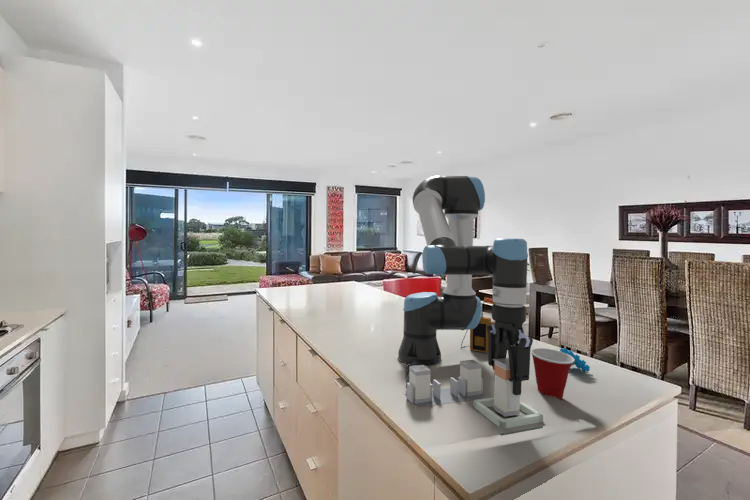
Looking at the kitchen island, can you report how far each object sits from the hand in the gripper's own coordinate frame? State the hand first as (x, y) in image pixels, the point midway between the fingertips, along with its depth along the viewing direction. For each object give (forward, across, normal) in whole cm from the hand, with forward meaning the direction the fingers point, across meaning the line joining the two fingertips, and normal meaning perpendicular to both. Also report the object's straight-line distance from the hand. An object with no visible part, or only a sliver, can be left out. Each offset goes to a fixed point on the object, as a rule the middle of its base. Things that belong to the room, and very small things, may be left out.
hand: (506, 402), depth 85 cm
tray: (+4, 0, 0) cm, 4 cm away
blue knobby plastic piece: (+4, -21, +43) cm, 48 cm away
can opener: (+5, -24, -13) cm, 28 cm away
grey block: (+3, -13, -16) cm, 21 cm away
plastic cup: (+4, -7, +20) cm, 22 cm away
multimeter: (+4, -50, +28) cm, 57 cm away
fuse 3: (+2, 0, 0) cm, 2 cm away
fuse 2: (+3, -13, -2) cm, 13 cm away
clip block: (+4, -13, -9) cm, 16 cm away
